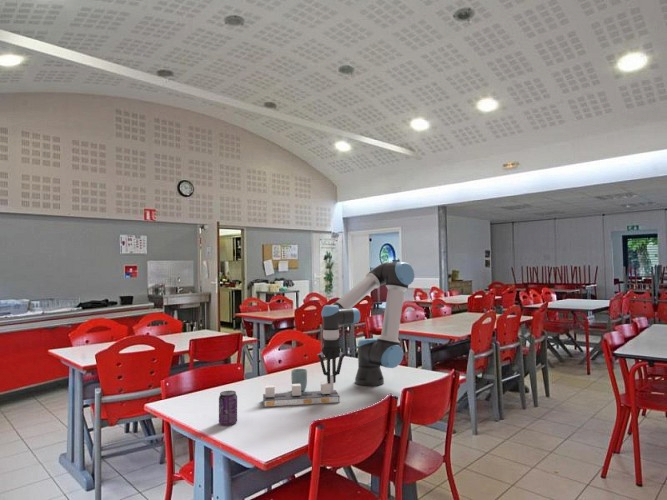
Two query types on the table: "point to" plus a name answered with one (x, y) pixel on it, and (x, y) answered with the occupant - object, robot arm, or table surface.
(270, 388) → the slider
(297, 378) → the cup
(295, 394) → the slider
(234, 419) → the beverage can
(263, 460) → the table surface
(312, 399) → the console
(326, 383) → the slider
